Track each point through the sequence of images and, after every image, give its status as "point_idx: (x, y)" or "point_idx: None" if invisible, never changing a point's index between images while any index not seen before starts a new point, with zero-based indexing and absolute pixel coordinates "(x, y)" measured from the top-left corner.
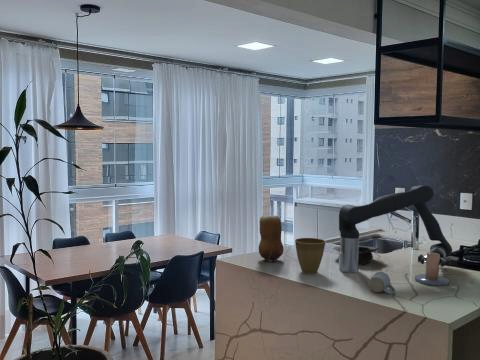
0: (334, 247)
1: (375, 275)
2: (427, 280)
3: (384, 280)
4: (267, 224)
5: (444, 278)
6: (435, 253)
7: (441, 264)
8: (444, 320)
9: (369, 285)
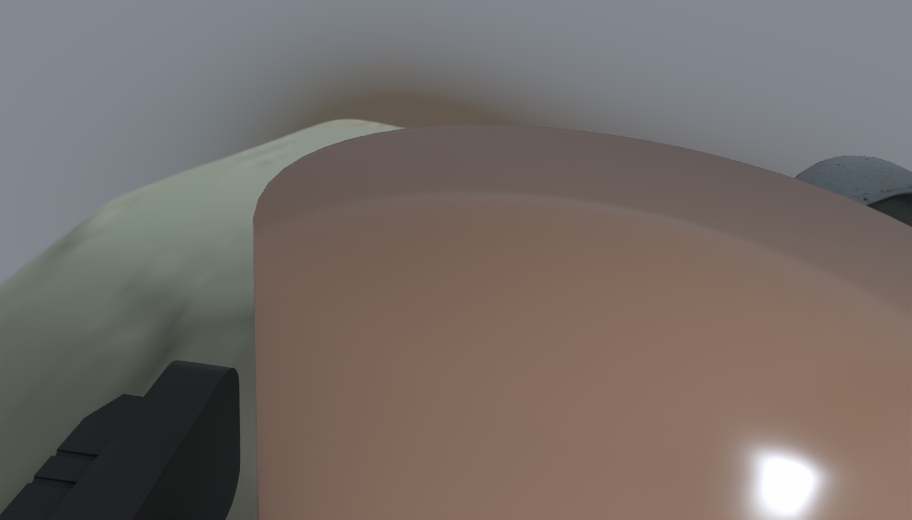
0: None
1: (902, 167)
2: None
3: (805, 178)
4: None
5: None
6: (524, 268)
7: (226, 415)
8: (357, 123)
9: None
